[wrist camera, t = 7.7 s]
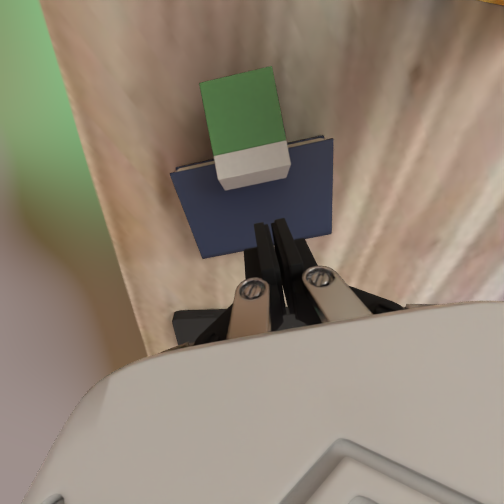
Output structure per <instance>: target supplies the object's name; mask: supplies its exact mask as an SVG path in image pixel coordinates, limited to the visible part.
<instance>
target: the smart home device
mask: <svg viewBox="0 0 504 504" xmlns="http://www.w3.org/2000/svg"><path fill="white" fill-rule="evenodd" d="M285 308H286V315H285V316H283V320H284V322H283V324H282V325H281V326H280V327H279V329H278V331H280V330H286V329H292V328H298V327H304V326H306V324H305V323H303V322H301V321H300V320H297V321H296V319H295V316H294V314H291V315H290V313H289V309H288V307H285ZM226 310H227V309H219V310H188V311H177V312H175V314H174V317H173V320H172V324H173V327H174V331H175V335H176V339H177V342H178V345H181V344H184V343H186V342H189V343H190V344H191V343H194V342H195V340H196V339H197V338H198V337H199V335H200V334H201V333H202V332H203V331H205V330H206V329H207V328H208V327H209V326H210V325H211V324H212V323H213V322H214V321H215V320H216V319H217V318H218V317H219V316H220V315H221V314H222V313H223V312H224V311H226Z"/></svg>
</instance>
